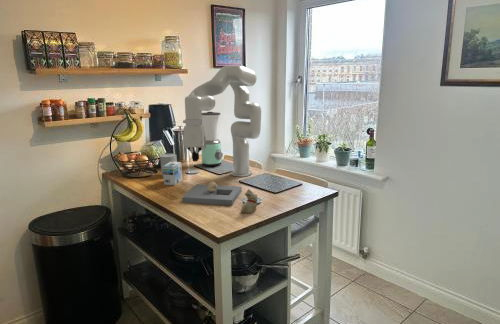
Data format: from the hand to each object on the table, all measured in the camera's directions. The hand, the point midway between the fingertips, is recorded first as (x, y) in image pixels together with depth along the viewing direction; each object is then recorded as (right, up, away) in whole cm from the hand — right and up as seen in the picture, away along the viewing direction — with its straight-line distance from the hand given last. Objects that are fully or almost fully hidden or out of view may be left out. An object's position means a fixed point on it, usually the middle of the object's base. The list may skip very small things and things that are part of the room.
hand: (195, 160), depth 167 cm
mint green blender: (0, -3, +64) cm, 64 cm away
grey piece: (-22, -9, +41) cm, 47 cm away
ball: (+8, -13, +2) cm, 15 cm away
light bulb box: (-17, -12, +27) cm, 34 cm away
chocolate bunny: (+26, -22, -15) cm, 37 cm away
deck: (+8, -18, +3) cm, 20 cm away
